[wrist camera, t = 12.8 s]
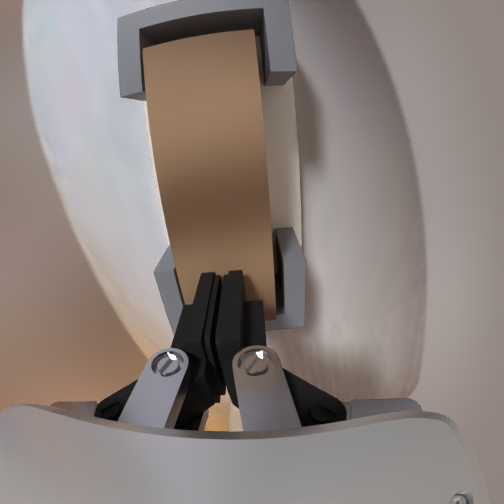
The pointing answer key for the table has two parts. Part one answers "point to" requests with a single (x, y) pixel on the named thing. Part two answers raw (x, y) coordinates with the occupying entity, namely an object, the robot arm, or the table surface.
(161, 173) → the brown curved block
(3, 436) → the robot arm
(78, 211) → the table surface
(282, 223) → the endcap rail
